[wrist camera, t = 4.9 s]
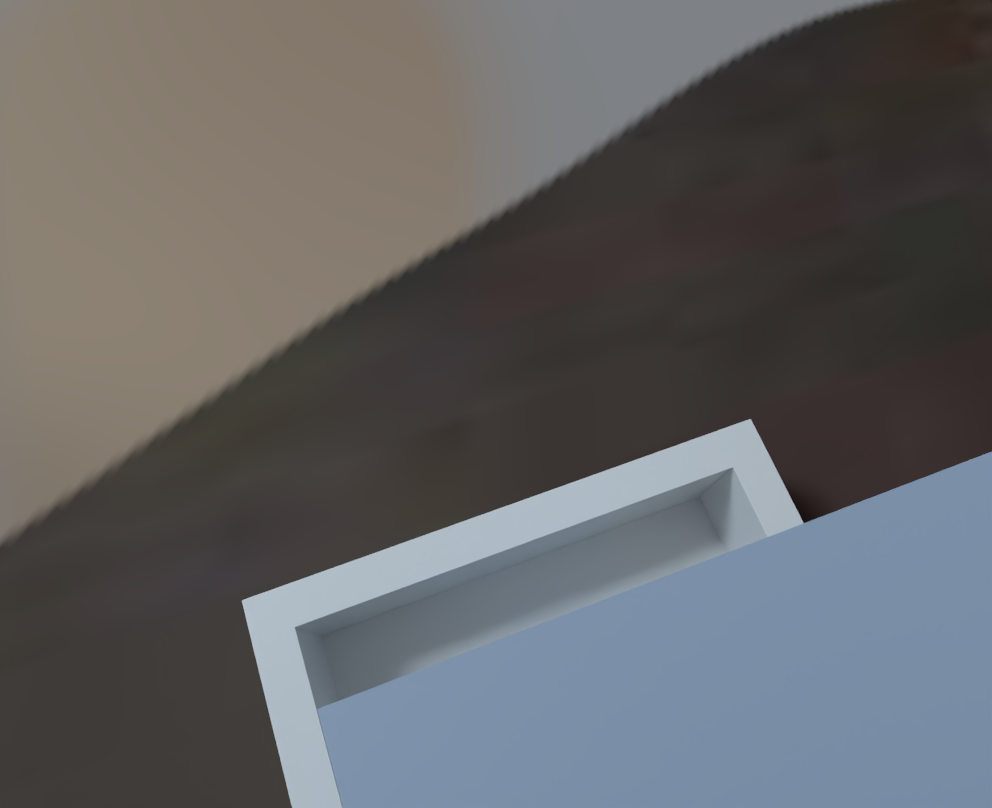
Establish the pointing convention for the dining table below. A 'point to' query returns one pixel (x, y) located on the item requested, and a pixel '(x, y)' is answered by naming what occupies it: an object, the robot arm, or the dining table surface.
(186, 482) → the dining table surface
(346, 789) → the carton
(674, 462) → the tray
